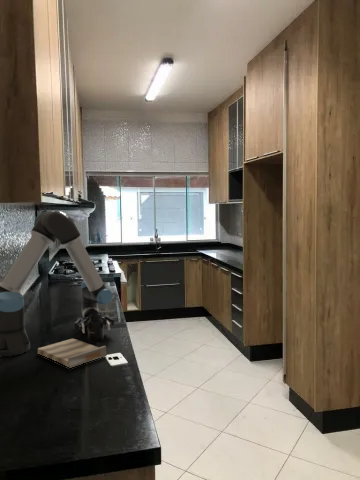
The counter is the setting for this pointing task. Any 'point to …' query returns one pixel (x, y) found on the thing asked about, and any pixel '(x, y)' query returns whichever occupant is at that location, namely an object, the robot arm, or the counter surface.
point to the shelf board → (72, 352)
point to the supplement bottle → (95, 328)
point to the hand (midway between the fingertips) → (96, 328)
